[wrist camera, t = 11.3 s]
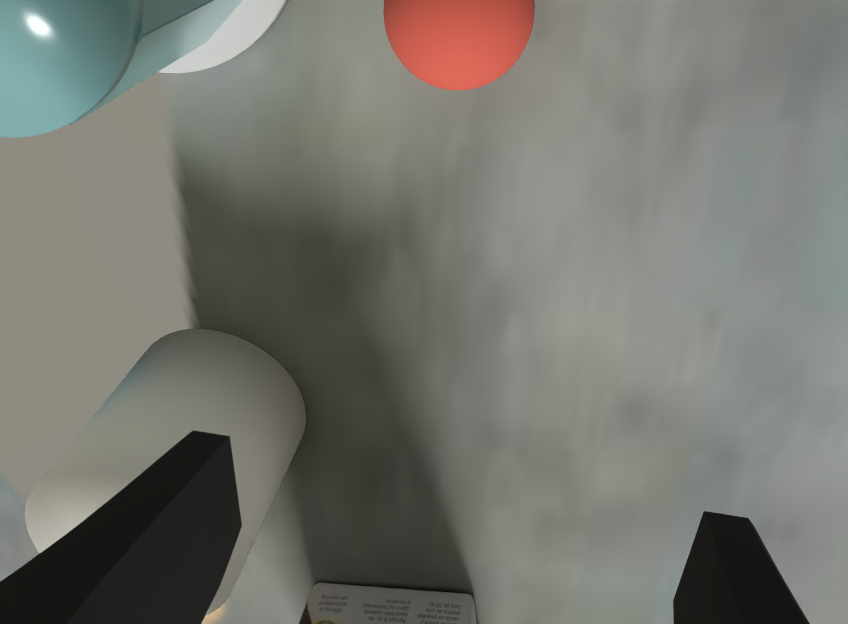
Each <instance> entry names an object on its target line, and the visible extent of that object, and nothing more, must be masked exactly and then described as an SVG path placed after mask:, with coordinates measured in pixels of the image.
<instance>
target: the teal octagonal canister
mask: <svg viewBox="0 0 848 624" xmlns="http://www.w3.org/2000/svg"><path fill="white" fill-rule="evenodd" d="M242 1H243V0H0V137H15V138H17V137H26V136H35V135H39V134H43V133H46V132H50V131H53V130H55V129H57V128H59V127H62V126H64V125H66V124H73V123H75V122H77V121H78V120H80V119H81V118H83V117H85V116H87V115H88V114H90V113H91V112H93V111H94V110H96V109H98V108H100V107H101V106H103V105H104V104H106V103H108V102H109V101H111V100H113V99H114V98H116V97H118V96H119V95H121V94H122V93H124V92H126V91H127V90H129V89H130V88H132V87H134V86H135V85H137V84H139V83H140V82H142V81H144V80H145V79H147V78H149V77H150V76H152V75H154V74H155V73H157V72H158V71H160V70H162V69H163V68H165V67H167V66H168V65H170V64H172V63H173V62H175V61H176V60H178V59H180V58H181V57H183V56H185V55H186V54H188V53H190V52H191V51H193V50H194V49H196V48H198V47H199V46H201V45H203V44H204V43H206V42H207V41H208V40H209V39H210V37H211V36H212V35H213V34H214V33H215V32H216V31H217V29H218V28H219V27H220V26H221V25H222V24H223V23H224V21H225V20H226V19H227V18H228V17H229V16H230V15H231V13H232V12H233V11H234V10H235V9H236V8H237V7H238V5H239V4H240V3H241V2H242Z"/></svg>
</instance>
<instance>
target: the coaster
mask: <svg viewBox="0 0 848 624" xmlns="http://www.w3.org/2000/svg"><path fill="white" fill-rule="evenodd" d="M288 1H289V0H243V1H242V2H241V3H240V4H239V5H238V7H237V8H236V9H235V10H234V11H233V12H232V13H231V15H230V16H229V17H228V18H227V19H226V20H225V21H224V23H223V24H222V25H221V26H220V27H219V28H218V29H217V31H216V32H215V33H214V34H213V35H212V36H211V37H210V39H209V40H208V41H207V42H206V43H204V44H203V45H201V46H199V47H198V48H196V49H194V50H193V51H191V52H190V53H188V54H186V55H185V56H183V57H181V58H180V59H178V60H176V61H175V62H173V63H172V64H170V65H168V66H167V67H165V68H163V69H162V70H160V71H158V72H161V73H185V72H194V71H200V70H203V69H207V68H210V67H214V66H217V65H219V64H221V63H223V62H225V61H227V60H230V59H232V58H233V57H234V56H236V55H237V54H239V53H240V52H242V51H243V50H245V49H246V48H248V47H249V46H251V45H252V44H254V43H255V42H256V41H257V40H258V39H259V38H260V37H262V36H263V35H264V34H265V33H266V32H267V31H268V30H269V29H270V27H271V26H272V25H273V24H274V22H275V21H276V20H277V19H278V17H279V16H280V15H281V13H282V11H283V9H284V8H285V6H286V4H287V2H288Z"/></svg>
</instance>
